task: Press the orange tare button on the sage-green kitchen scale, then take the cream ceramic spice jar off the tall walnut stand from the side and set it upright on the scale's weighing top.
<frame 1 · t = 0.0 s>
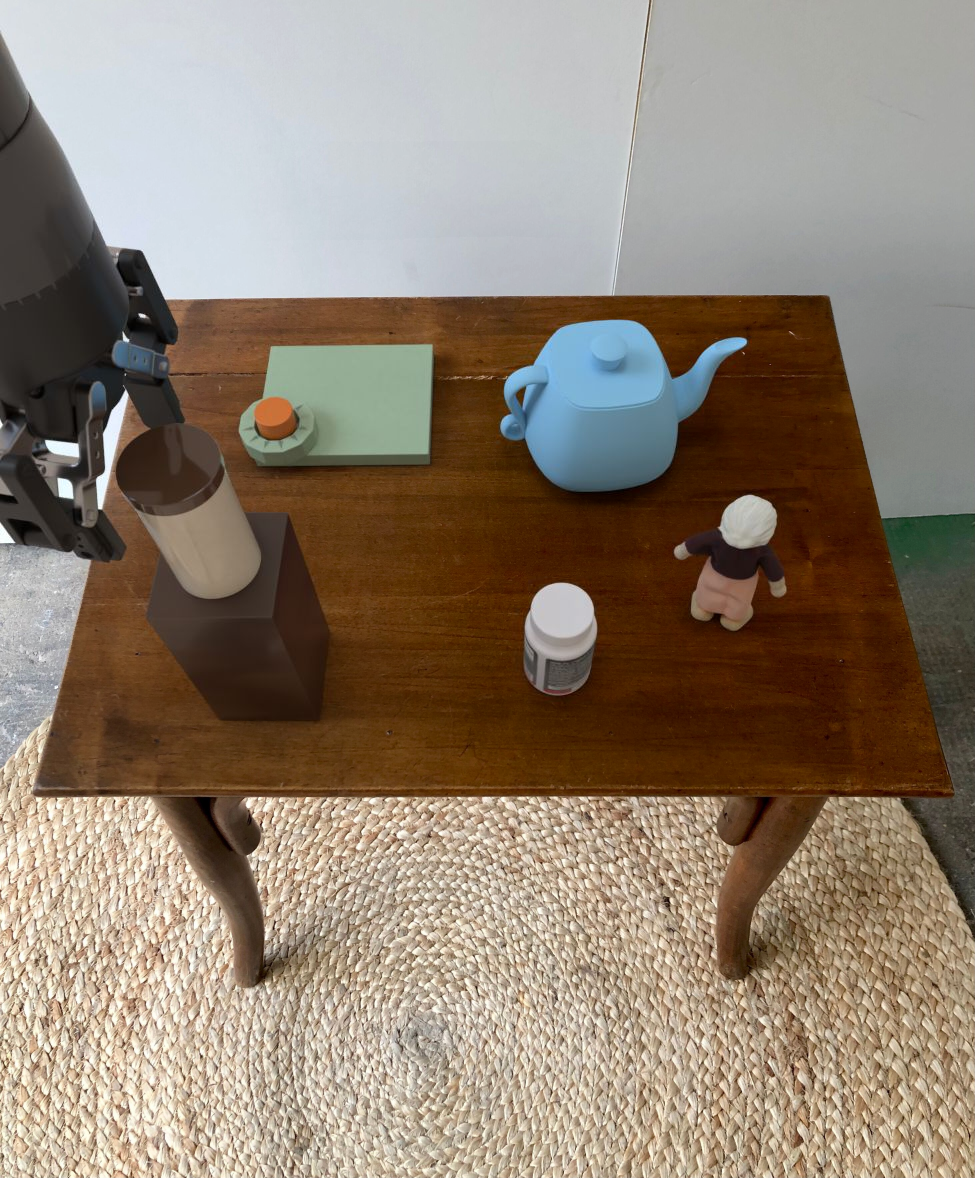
hand: (137, 487, 49), 19 cm above the table, tool pointing down, fingers open, 8 cm apart
spice jar: (218, 562, 51), point 15 cm above the table, touching stand
grandmother figurine: (712, 608, 66), on the table
scale: (349, 408, 76), on the table
teapot: (609, 441, 74), on the table
tare button: (275, 418, 71), point 4 cm above the table, slide at 0.1 cm
stand: (275, 674, 64), on the table
pill bottle: (556, 667, 64), on the table
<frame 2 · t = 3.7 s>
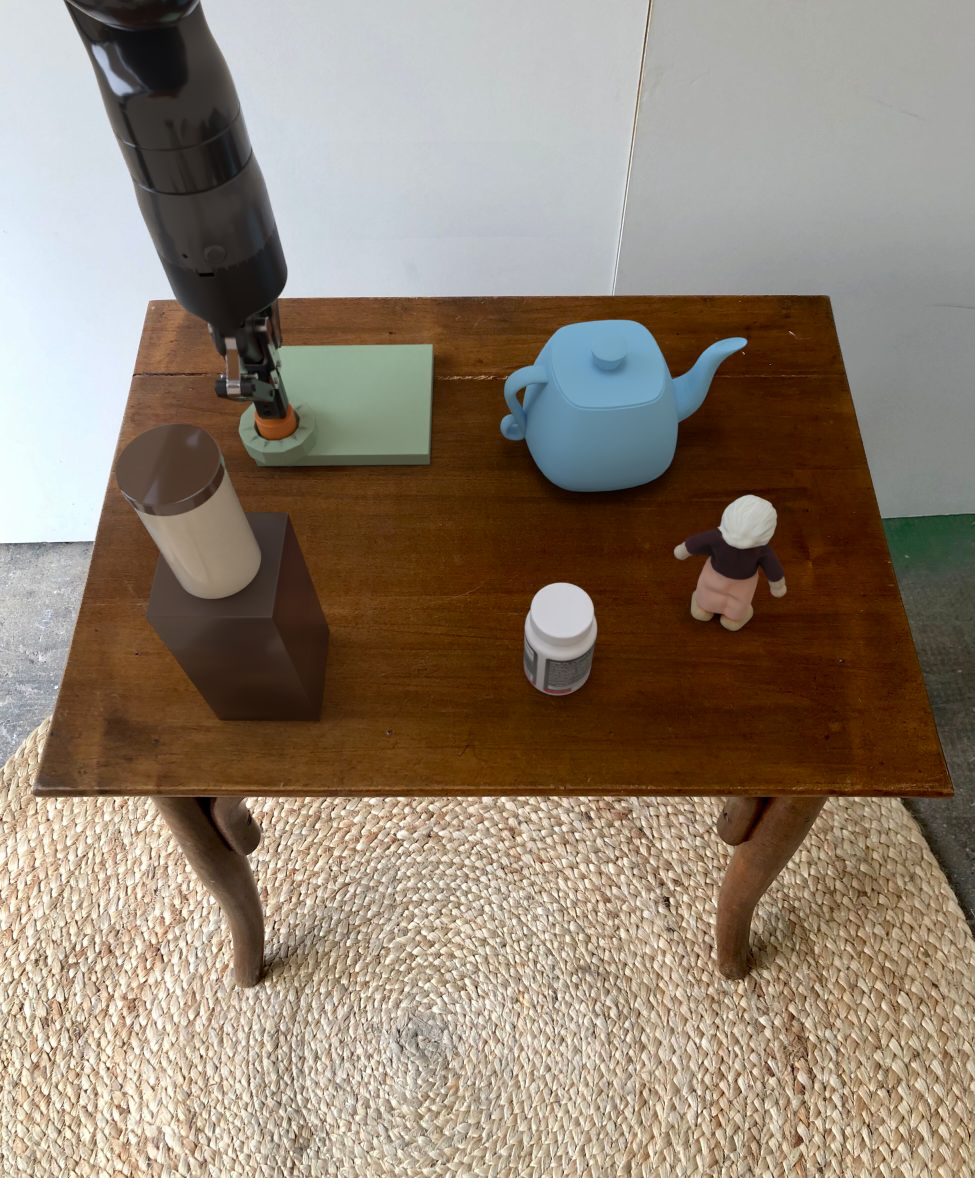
hand: (274, 412, 70), 4 cm above the table, tool pointing down, fingers closed
tare button: (275, 419, 71), point 3 cm above the table, slide at 0.0 cm, touching gripper
everything else where it was.
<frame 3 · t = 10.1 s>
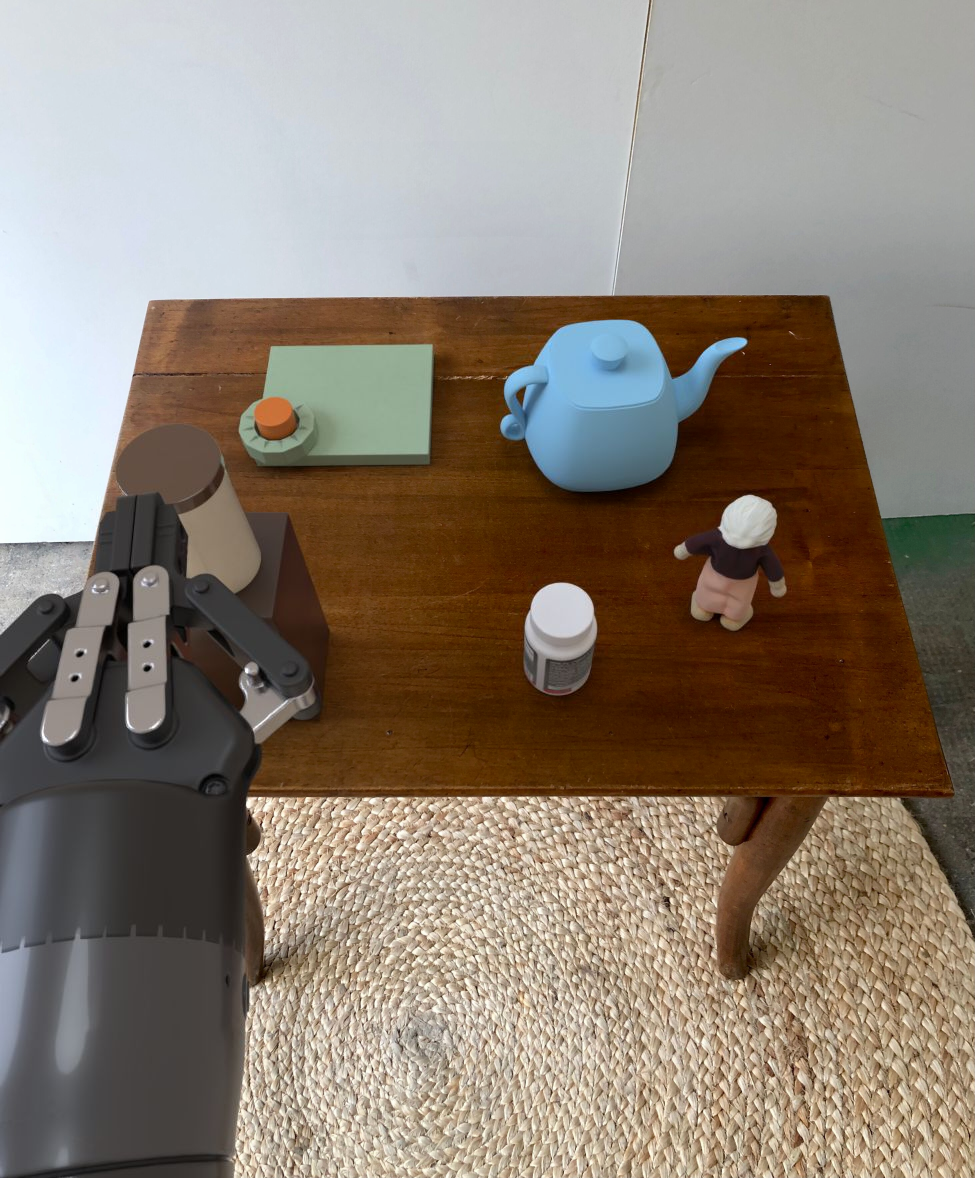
hand: (146, 507, 35), 30 cm above the table, tool horizontal, fingers closed
tare button: (275, 418, 71), point 4 cm above the table, slide at 0.1 cm
everything else where it was.
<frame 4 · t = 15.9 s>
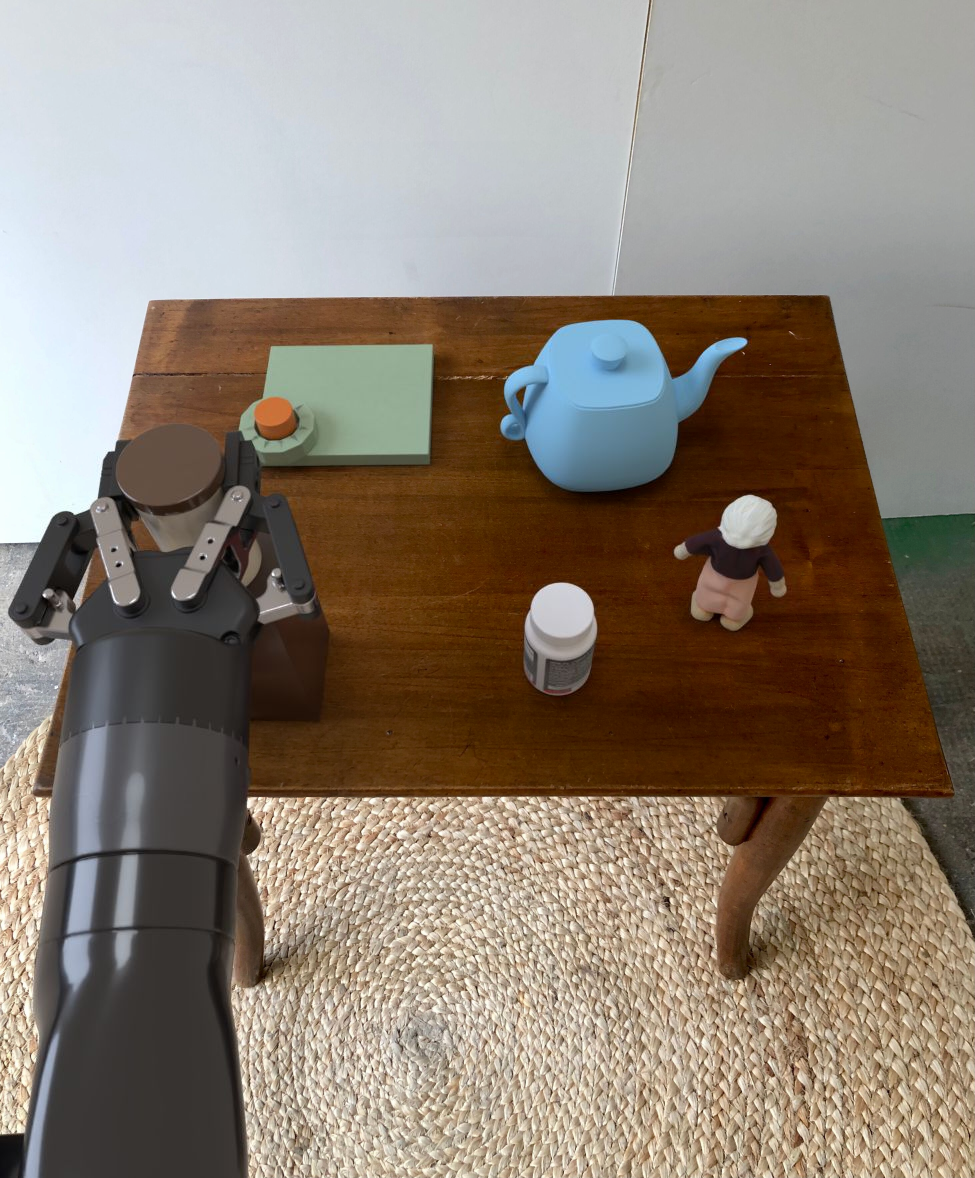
hand: (184, 446, 46), 22 cm above the table, tool horizontal, fingers closed on spice jar, 5 cm apart
spice jar: (219, 562, 51), point 15 cm above the table, touching gripper, stand
everything else where it was.
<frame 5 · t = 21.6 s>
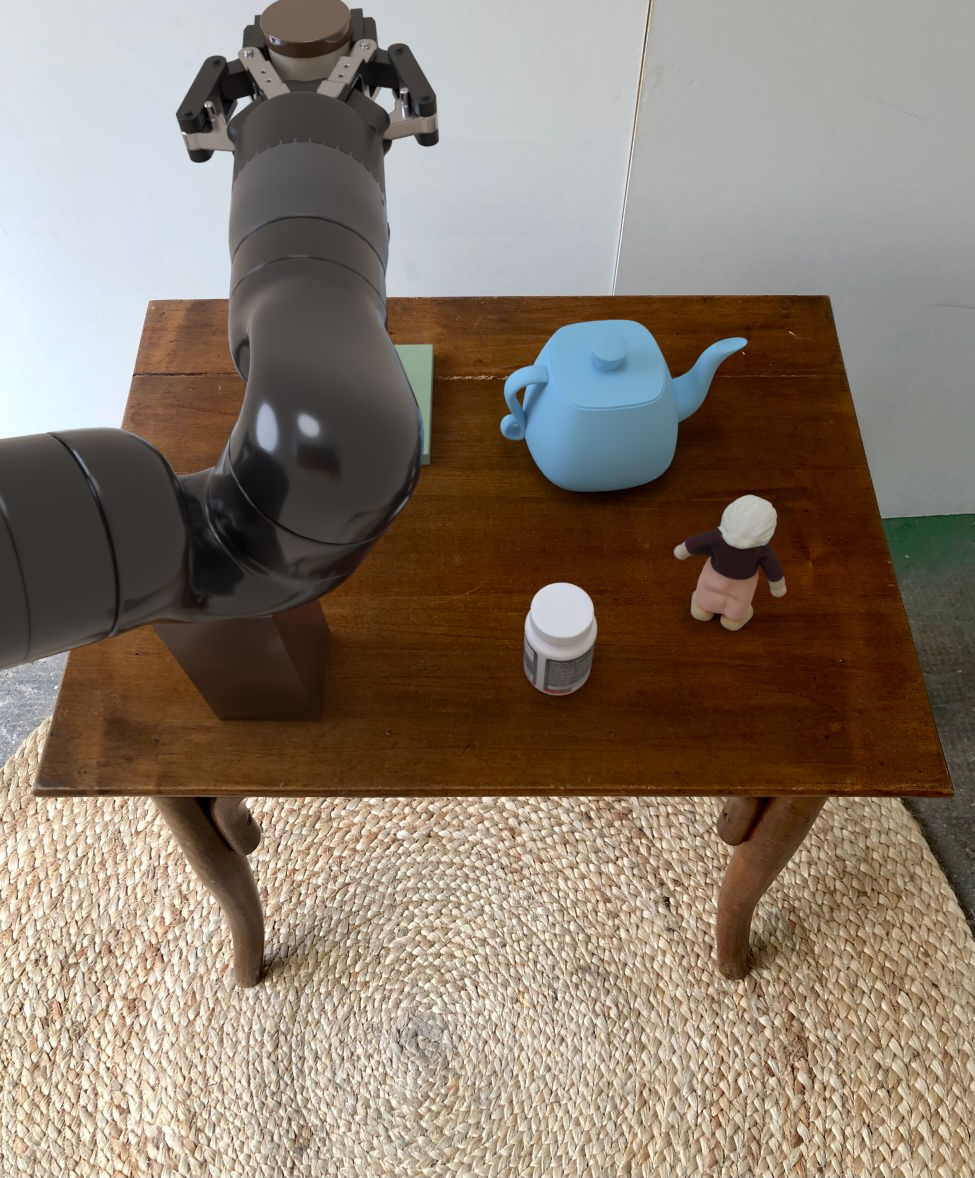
hand: (311, 28, 53), 29 cm above the table, tool horizontal, fingers closed on spice jar, 5 cm apart
spice jar: (332, 165, 57), point 22 cm above the table, touching gripper
everything else where it was.
when the fingers open (8 cm above the table, at t = 27.5 s): spice jar stays where it is, resting on scale.
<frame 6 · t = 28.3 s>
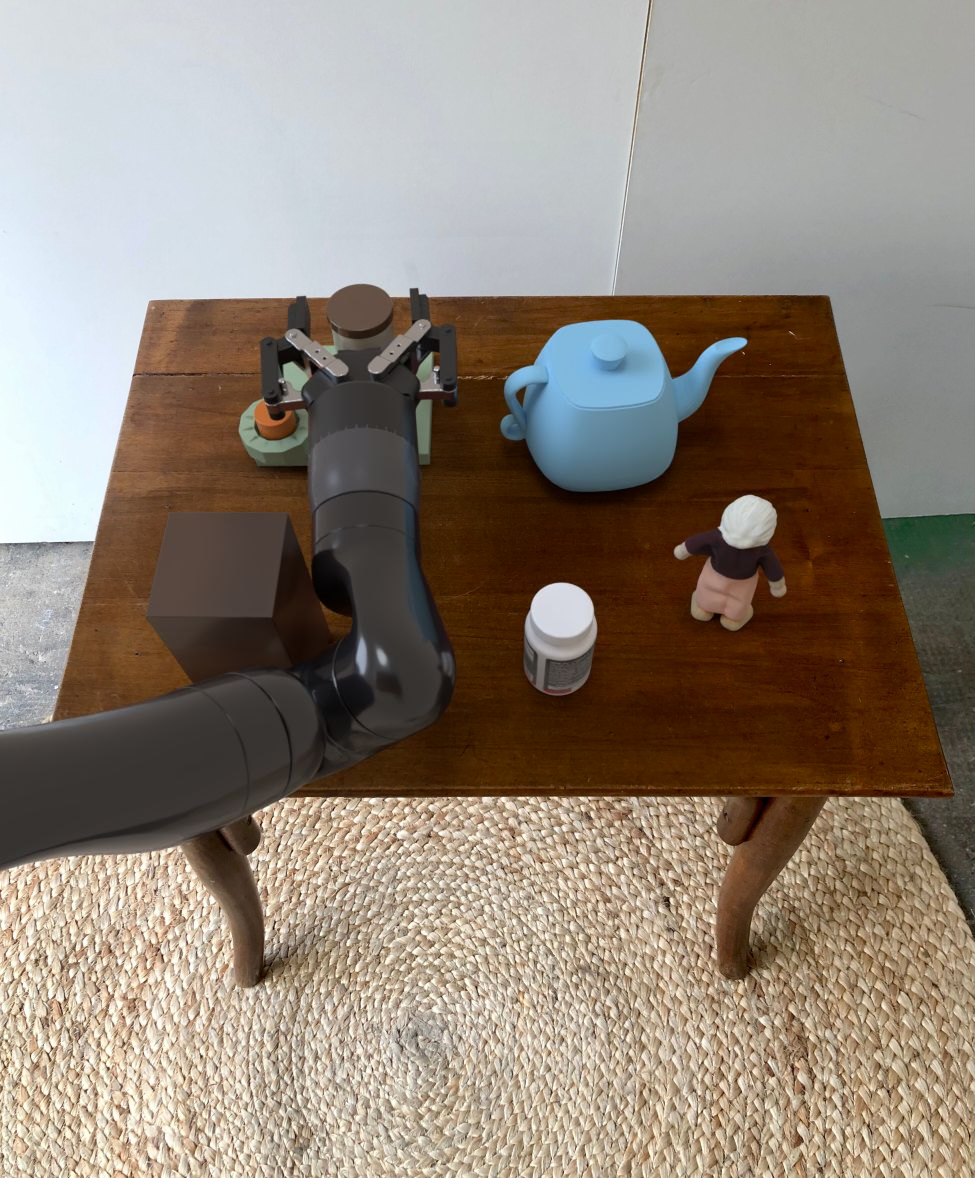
hand: (359, 300, 69), 9 cm above the table, tool horizontal, fingers open, 8 cm apart
spice jar: (373, 389, 75), point 1 cm above the table, touching scale
everything else where it was.
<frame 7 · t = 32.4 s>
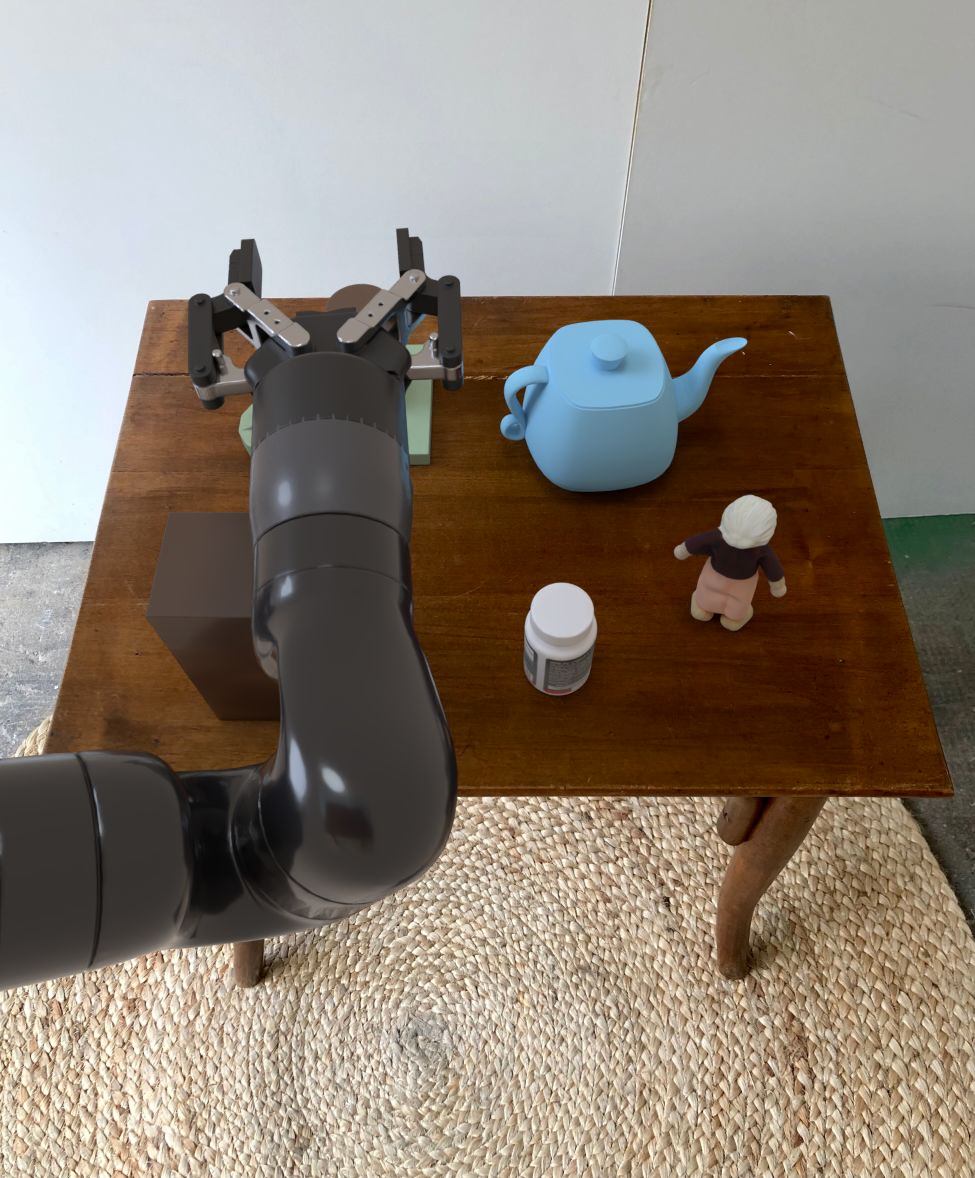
hand: (327, 245, 51), 24 cm above the table, tool horizontal, fingers open, 8 cm apart
nothing on the table moved.
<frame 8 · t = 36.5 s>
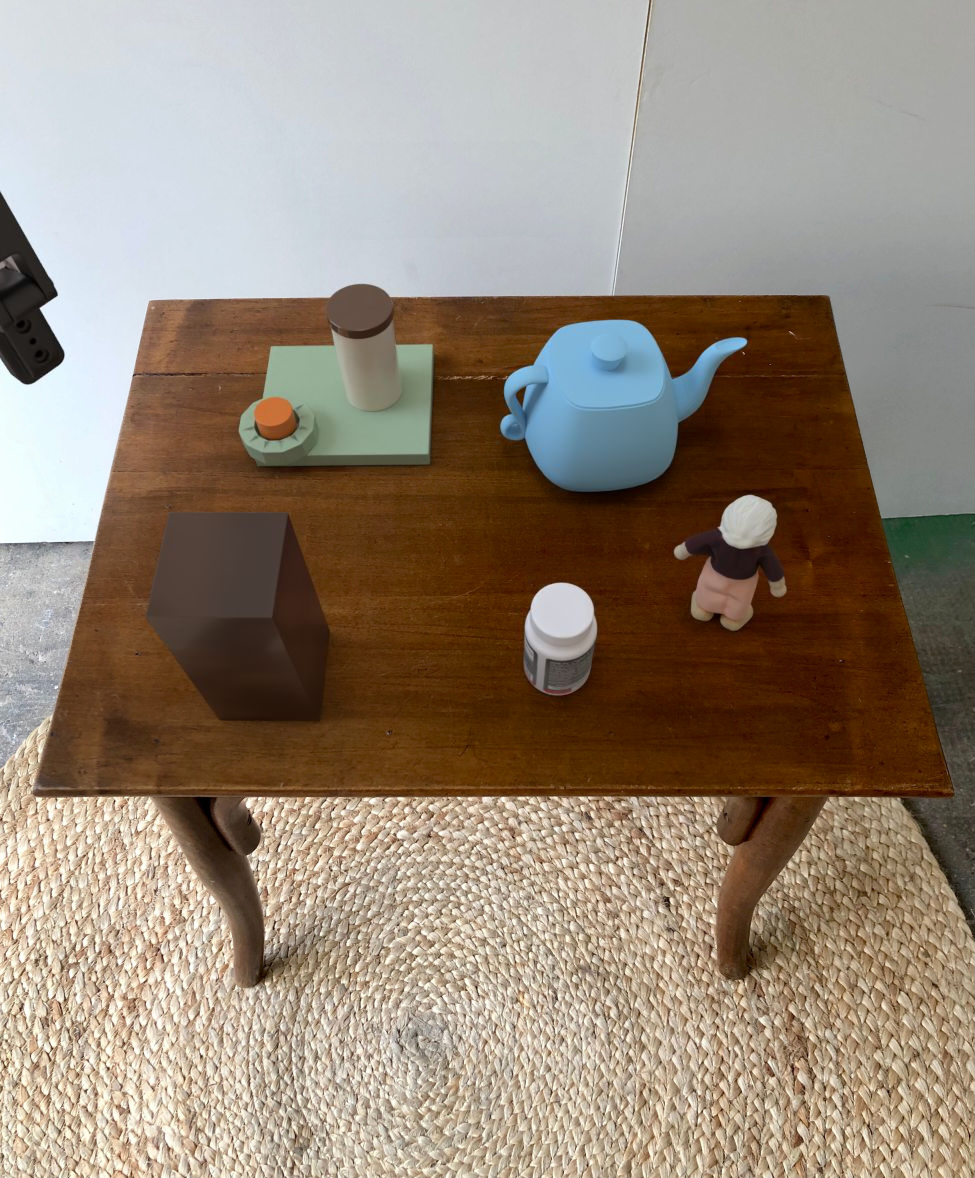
nothing on the table moved.
at the end: tare button pushed in 0.9 cm at the most during the clip, back to where it started at the end; spice jar inside the target area on the scale (2.3 cm from its centre), point 1.4 cm above the scale's base; spice jar touching scale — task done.
